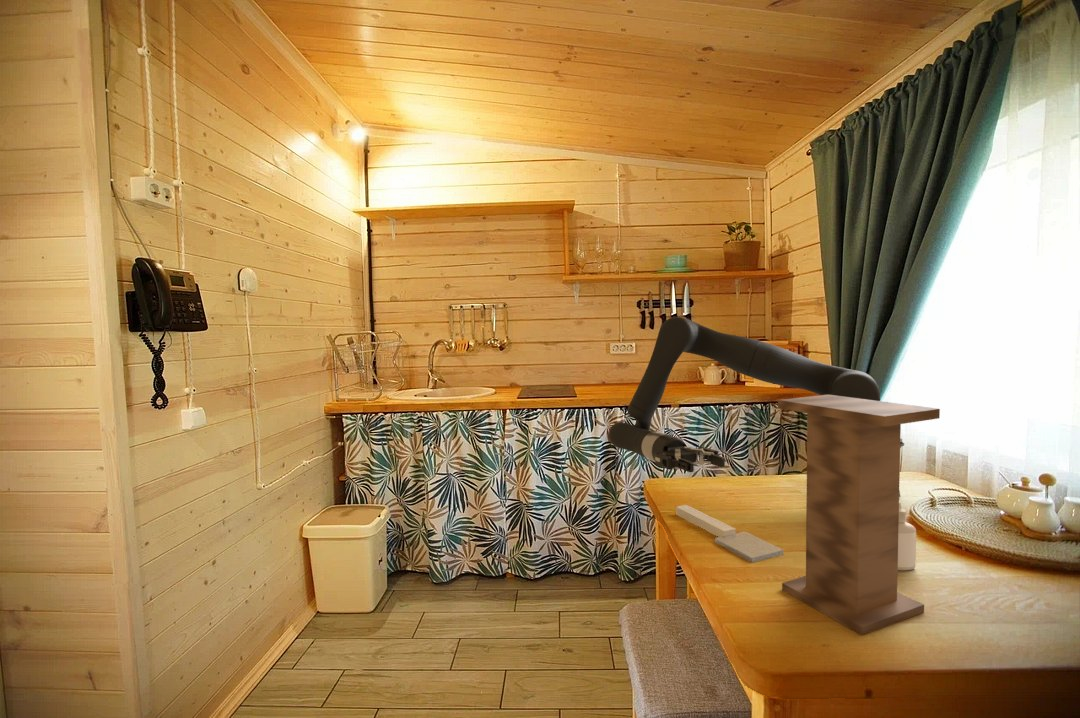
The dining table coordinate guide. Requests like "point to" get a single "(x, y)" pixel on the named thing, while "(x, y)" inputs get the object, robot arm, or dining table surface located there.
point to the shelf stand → (854, 509)
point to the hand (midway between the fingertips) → (708, 465)
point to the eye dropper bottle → (906, 543)
